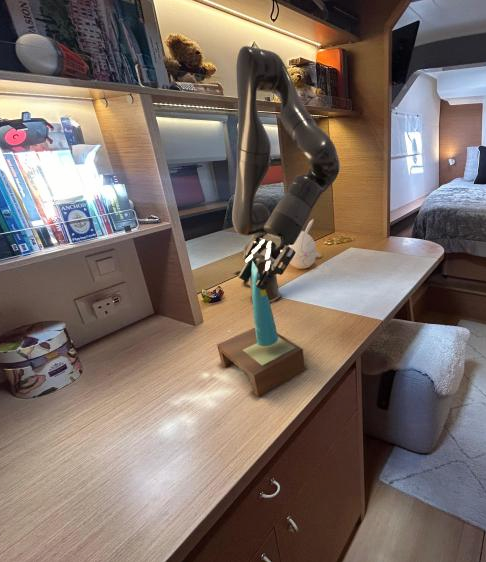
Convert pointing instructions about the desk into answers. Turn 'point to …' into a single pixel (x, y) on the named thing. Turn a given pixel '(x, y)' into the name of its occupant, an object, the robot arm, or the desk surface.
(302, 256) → the stuffed toy
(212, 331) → the desk surface
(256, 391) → the brown wooden table
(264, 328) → the tube
